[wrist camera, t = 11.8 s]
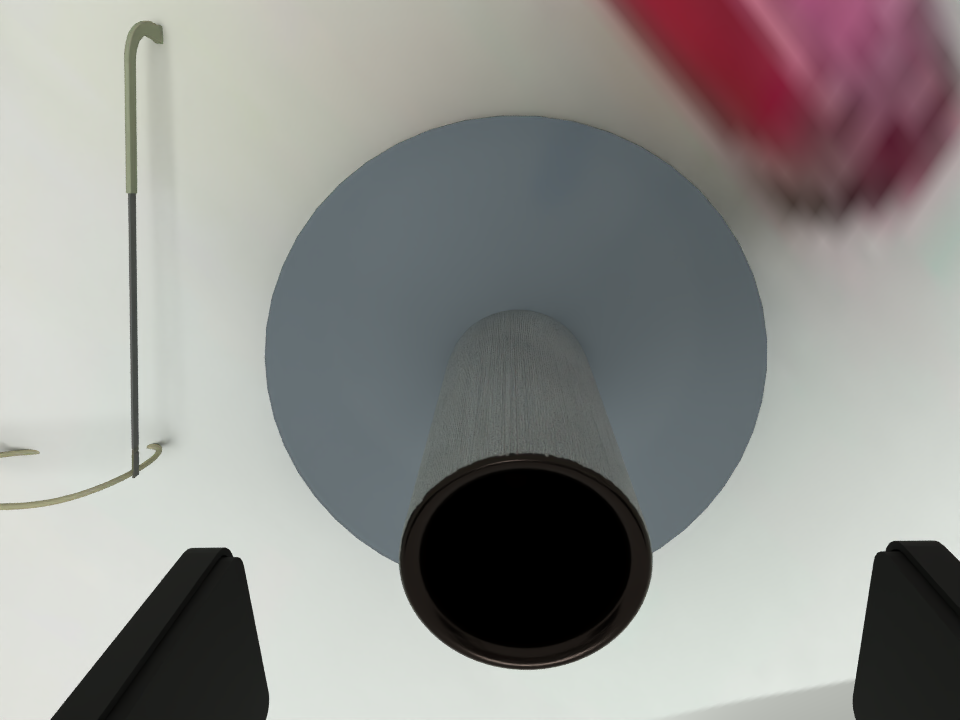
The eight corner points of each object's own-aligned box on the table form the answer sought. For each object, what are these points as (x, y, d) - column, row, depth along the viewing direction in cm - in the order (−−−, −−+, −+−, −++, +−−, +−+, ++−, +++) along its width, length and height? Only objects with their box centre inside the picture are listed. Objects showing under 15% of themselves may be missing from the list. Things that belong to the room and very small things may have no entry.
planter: (493, 464, 23) (483, 708, 13) (419, 353, 22) (347, 529, 12) (614, 399, 22) (699, 610, 12) (543, 281, 21) (574, 406, 11)
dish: (771, 101, 20) (787, 99, 19) (738, 566, 25) (749, 586, 24) (242, 132, 21) (227, 131, 20) (309, 575, 26) (300, 595, 25)
